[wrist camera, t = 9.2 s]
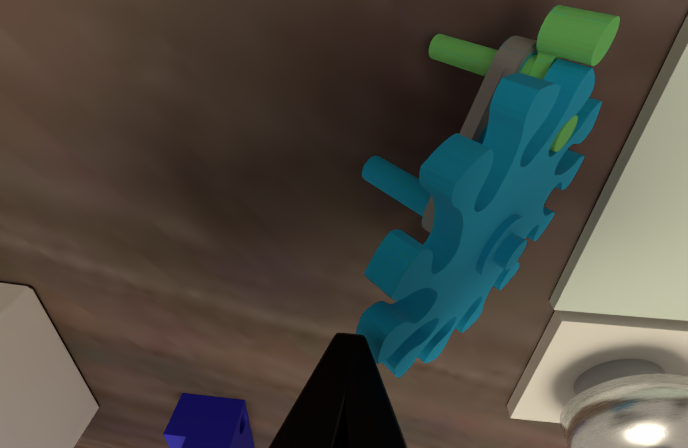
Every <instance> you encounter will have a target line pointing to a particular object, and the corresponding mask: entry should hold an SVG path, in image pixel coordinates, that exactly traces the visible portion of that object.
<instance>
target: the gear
mask: <svg viewBox="0 0 688 448" xmlns="http://www.w3.org/2000/svg"><path fill="white" fill-rule="evenodd" d="M619 23H620V17H619V16H615V15H610V14H604V13H599V12H594V11H588V10H583V9H578V8H573V7H567V6H562V5H557V6H555V7H554V8H553V9H552V10H551V11H550V12H549V14H548V15H547V17H546V18H545V20H544V22H543V24H542V26H541V29H540V31H539V34H538V38H537V41H536V40H532V39H528V38H524V37H521V36H512V37H510V38H508V39H507V40H506V41H505V42H504V43H503V44H502V46H501V47H500V48H499V50H496V49H492V48H489V47H485V46H482V45H478V44H474V43H471V42H467V41H464V40H460V39H457V38H453V37H450V36H446V35H443V34H437V35H436V36H435V37H434V38H433V39H432V41H431V43H430V46H429V56H430V58H431V59H434V60H437V61H440V62H443V63H446V64H449V65H452V66H455V67H458V68H461V69H464V70H467V71H470V72H473V73H476V74H479V75H482V76H485V78H484V80H483V82H482V85H481V87H480V89H479V91H478V93H477V96H476V98H475V100H474V102H473V105H472V107H471V109H470V111H469V113H468V116H467V118H466V120H465V122H464V124H463V127H462V129H461V131H460V133H459V134H458V133H455V134H454V135H452V136H451V137H449V138H448V139H447V140H445V141H444V142H443V143H442V144H441V145H440V146H439V147H438V148H437V149H436V150H435V151H434V152H433V153H432V154H431V155H430V156H429V158H428V159H427V160H426V161H425V162H424V163H423V164H422V165H421V169H420V173H419V179H418V178H416V177H415V176H413V175H411V174H409V173H408V172H406V171H404V170H402V169H401V168H399V167H397V166H395V165H394V164H392V163H390V162H388V161H387V160H385V159H383V158H381V157H380V156H377V155H376V156H372V157H371V158H370V159H368V161H367V162H366V163H365V165H364V167H363V170H362V177H363V179H364V180H366V181H367V182H369V183H371V184H372V185H374V186H375V187H377V188H378V189H380V190H382V191H383V192H385V193H386V194H388V195H389V196H391V197H392V198H394V199H396V200H397V201H399V202H400V203H402V204H403V205H405V206H406V207H408V208H410V209H411V210H413V211H414V212H416V213H417V214H419V215H421V216H422V222H421V223H422V227H423V228H424V229H425V230H426V231H428V232H429V233H430V235H429V237H428V239H427V240H426V242H425V243H424V244H423V245H422V244H421V243H419V242H418V241H416V240H415V239H414V238H412V237H411V236H409V235H408V234H406V233H405V232H403V231H402V230H399V229H396V230H392V231H390V232H389V233H388V235H387V236H386V237H385V238H384V240H383V241H382V243H381V244H380V246H379V247H378V249H377V250H376V252H375V254H374V255H373V257H372V259H371V261H370V263H369V265H368V267H367V269H366V271H365V273H364V274H365V276H366V277H367V278H368V279H369V280H370V281H371V282H373V283H374V284H375V285H376V286H377V287H379V288H380V289H381V290H382V291H383V292H384V293H386V294H387V295H388V296H389V297H390V298H392V299H393V300H395V301H397V302H395V303H393V304H388V303H386V302H384V301H380V302H377V303H375V304H373V305H372V306H370V307H369V308H368V309H367V310H366V311H365V312H364V313H363V314H362V316H361V318H360V320H359V324H358V327H357V331H356V334H361V335H364V336H365V337H366V339H367V342H368V344H369V347H370V350H371V352H372V355H373V358H374V360H375V362H376V363H377V364H379V363H381V362H382V363H383V364H384V365H385V366H386V367H387V368H388V369H389V370H390V371H391V372H392V373H393V374H394V375H395V376H396V377H398V378H400V377H401V376H402V375H403V374H404V373H405V372H406V371H407V370H408V369H409V368H410V367H411V365H412V364H413V363H414V361H415V360H416V358H417V357H419V358H420V359H421V360H422V361H423V362H424V363H428V362H430V361H432V360H434V359H436V358H437V357H438V355H439V354H440V353H441V352H442V350H443V349H444V347H445V345H446V344H447V341H448V339H449V337H450V336H451V334H452V332H453V331H454V329H455V328H456V329H457V330H458V331H460V332H461V333H463V332H464V331H465V330H467V329H468V328H469V327H470V326H471V325H472V324H473V323H474V322H475V321H476V320H477V319H478V318H479V316H480V314H481V313H482V310H483V306H484V302H485V300H486V298H487V296H488V294H489V292H490V290H491V288H492V286H494V287H496V288H497V289H498V290H501V289H502V288H503V287H504V286H505V285H506V284H507V283H508V282H509V281H510V279H511V278H512V277H513V276H514V274H515V273H516V272H517V270H518V268H519V265H520V264H519V263H518V262H517V260H518V259H519V257H520V256H521V254H522V253H523V251H524V249H525V247H526V245H527V241H526V240H525V238H526V237H528V238H530V239H531V240H533V241H536V240H538V238H539V237H540V236H541V234H542V233H543V232H544V230H545V229H546V227H547V226H548V224H549V223H550V221H551V220H552V218H553V217H554V214H555V212H553V211H551V210H549V209H547V208H545V207H544V204H545V202H546V200H547V198H548V196H549V195H550V193H551V192H552V190H553V189H554V188H555V187H556V188H559V189H561V190H564V189H566V188H567V187H568V186H569V184H570V183H571V181H572V180H573V178H574V176H575V175H576V173H577V171H578V169H579V167H580V165H581V163H582V161H583V159H584V157H585V156H583V155H581V154H578V153H576V152H573V151H571V150H568V148H569V147H570V146H571V145H572V144H580V143H581V142H582V141H583V140H584V139H585V138H586V137H587V136H588V134H589V133H590V131H591V130H592V128H593V126H594V124H595V121H596V119H597V116H598V113H599V110H600V107H601V104H602V101H600V100H597V99H594V98H590V97H589V96H590V94H591V93H592V91H593V89H594V84H595V74H594V71H593V68H591V67H588V66H584V65H580V64H577V63H573V62H569V61H566V60H562V59H560V58H564V59H568V60H571V61H575V62H579V63H583V64H586V65H590V66H595V65H596V64H598V63H599V62H600V61H601V59H602V58H603V57H604V55H605V54H606V52H607V51H608V49H609V47H610V45H611V44H612V42H613V40H614V37H615V35H616V33H617V30H618V27H619Z"/></svg>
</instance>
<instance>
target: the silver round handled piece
mask: <svg viewBox="0 0 688 448" xmlns="http://www.w3.org/2000/svg"><path fill="white" fill-rule="evenodd" d="M560 425H561V427H562V430H563V433H564V436H565V438H566V441H567V444H568V446H569V448H688V377H686V376H682V375H674V374H642V375H633V376H627V377H622V378H617V379H613V380H610V381H607V382H603V383H601V384H598V385H595V386H593V387H591V388H589V389H587V390H585V391H583V392H581V393H579V394H578V395H576V396H575V397H574V398H572V399H571V400H570V401H569V402H568V403H567V404H566V405H565V407H564V408H563V410H562V412H561V414H560Z"/></svg>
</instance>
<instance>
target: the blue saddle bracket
mask: <svg viewBox="0 0 688 448" xmlns="http://www.w3.org/2000/svg"><path fill="white" fill-rule="evenodd" d="M164 437H165V439H166V441H167V443H168V445H169V447H170V448H254V443H253V438H252V433H251V428H250V423H249V418H248V413H247V408H246V404H245V400H239V399H231V398H222V397H213V396H204V395H195V394H187V393H182V395H181V397H180V400H179V402H178V404H177V406H176V408H175V410H174V412H173V415H172V417H171V419H170V421H169V423H168V425H167V427H166V430H165V432H164Z"/></svg>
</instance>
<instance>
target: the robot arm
mask: <svg viewBox="0 0 688 448" xmlns="http://www.w3.org/2000/svg"><path fill="white" fill-rule="evenodd" d="M269 448H408V447H407V445H406V442H405V439H404V437H403V434H402V432H401V429H400V426H399V424H398V421H397V418H396V416H395V413H394V410H393V408H392V405H391V402H390V400H389V397H388V395H387V392H386V389H385V387H384V384H383V381H382V379H381V376H380V373H379V371H378V368H377V365H376V363H375V360H374V358H373V355H372V352H371V350H370V347H369V344H368V342H367V339H366V337H365V336H364V335H361V334H349V333H336V334H335V336H334V337H333V339H332V341H331V342H330V344H329V346H328V348H327V349H326V351H325V353H324V354H323V356H322V358H321V359H320V361H319V363H318V365H317V366H316V368H315V370H314V371H313V373H312V375H311V377H310V378H309V380H308V382H307V383H306V385H305V387H304V388H303V390H302V392H301V394H300V395H299V397H298V399H297V400H296V402H295V404H294V406H293V407H292V409H291V411H290V412H289V414H288V416H287V417H286V419H285V421H284V423H283V424H282V426H281V428H280V429H279V431H278V433H277V434H276V436H275V438H274V440H273V441H272V443H271V445H270V446H269Z"/></svg>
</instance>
